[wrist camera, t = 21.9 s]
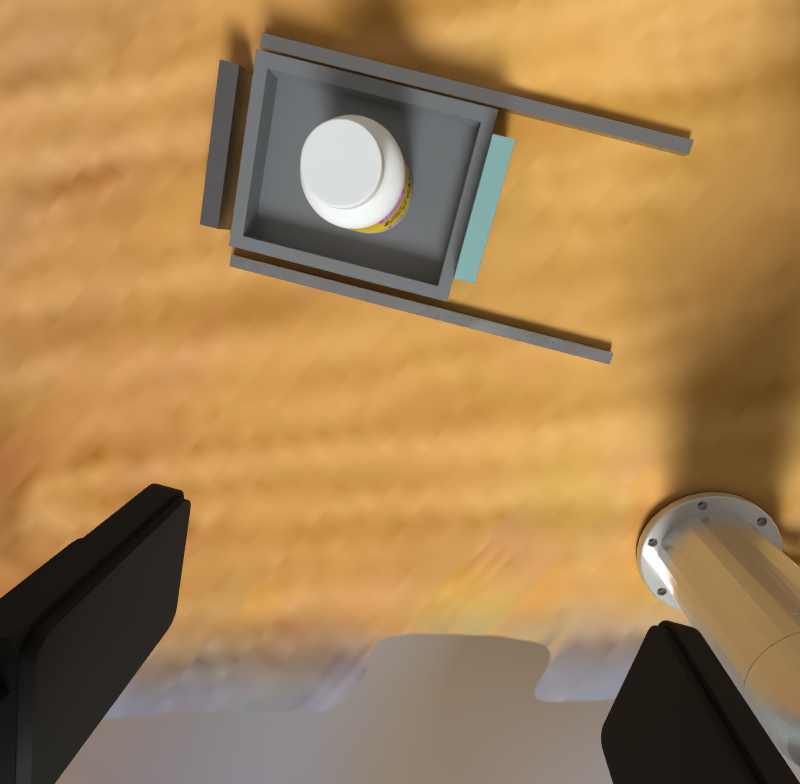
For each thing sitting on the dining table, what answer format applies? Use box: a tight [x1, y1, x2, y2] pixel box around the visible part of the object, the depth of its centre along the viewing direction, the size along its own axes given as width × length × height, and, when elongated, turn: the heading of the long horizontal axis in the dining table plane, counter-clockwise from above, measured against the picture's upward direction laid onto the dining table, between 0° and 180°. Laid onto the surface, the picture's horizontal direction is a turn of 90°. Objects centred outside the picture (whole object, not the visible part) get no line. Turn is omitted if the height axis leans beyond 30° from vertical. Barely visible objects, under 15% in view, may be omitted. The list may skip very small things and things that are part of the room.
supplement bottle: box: [300, 115, 413, 234], centre depth 34 cm, size 7×7×13 cm
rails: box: [200, 33, 694, 364], centre depth 40 cm, size 36×18×3 cm, turn 77°
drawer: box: [229, 49, 516, 302], centre depth 39 cm, size 20×14×6 cm
